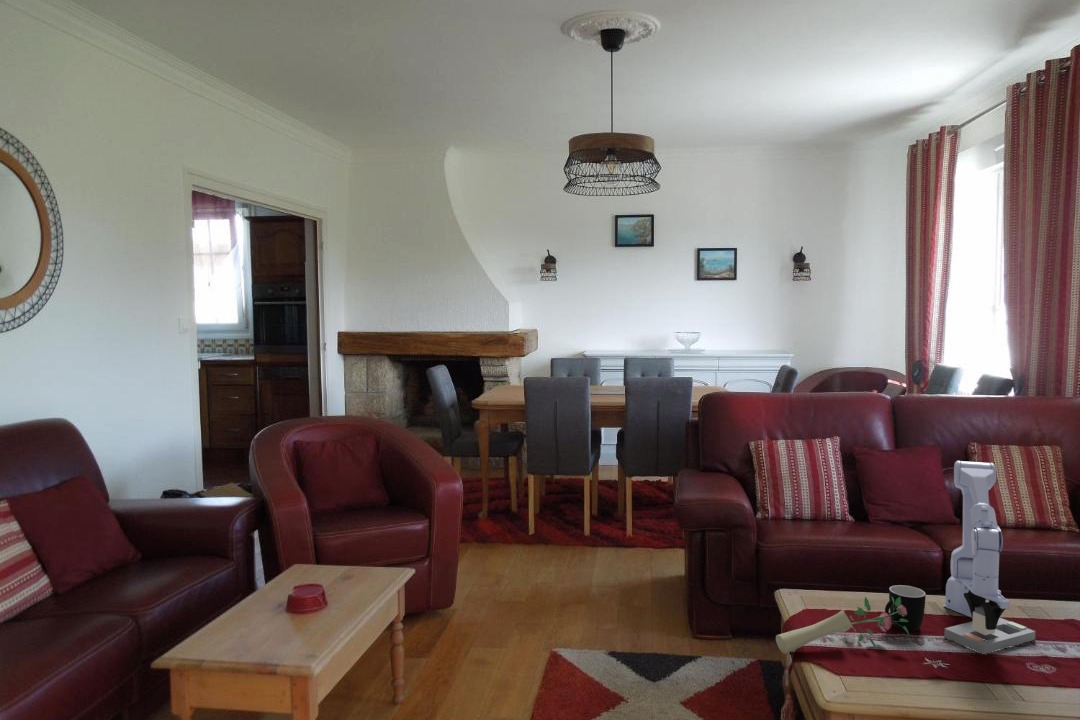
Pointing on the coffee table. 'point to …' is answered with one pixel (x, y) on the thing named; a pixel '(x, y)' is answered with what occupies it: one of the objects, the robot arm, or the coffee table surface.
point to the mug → (907, 606)
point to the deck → (990, 636)
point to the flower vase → (835, 627)
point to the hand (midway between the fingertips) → (983, 625)
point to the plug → (980, 621)
